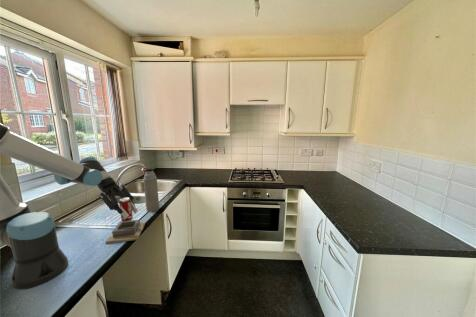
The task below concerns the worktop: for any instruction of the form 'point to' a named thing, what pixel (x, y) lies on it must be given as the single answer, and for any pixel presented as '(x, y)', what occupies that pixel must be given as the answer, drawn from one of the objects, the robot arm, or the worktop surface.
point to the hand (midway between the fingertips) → (131, 214)
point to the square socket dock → (126, 231)
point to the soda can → (126, 208)
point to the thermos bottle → (151, 190)
